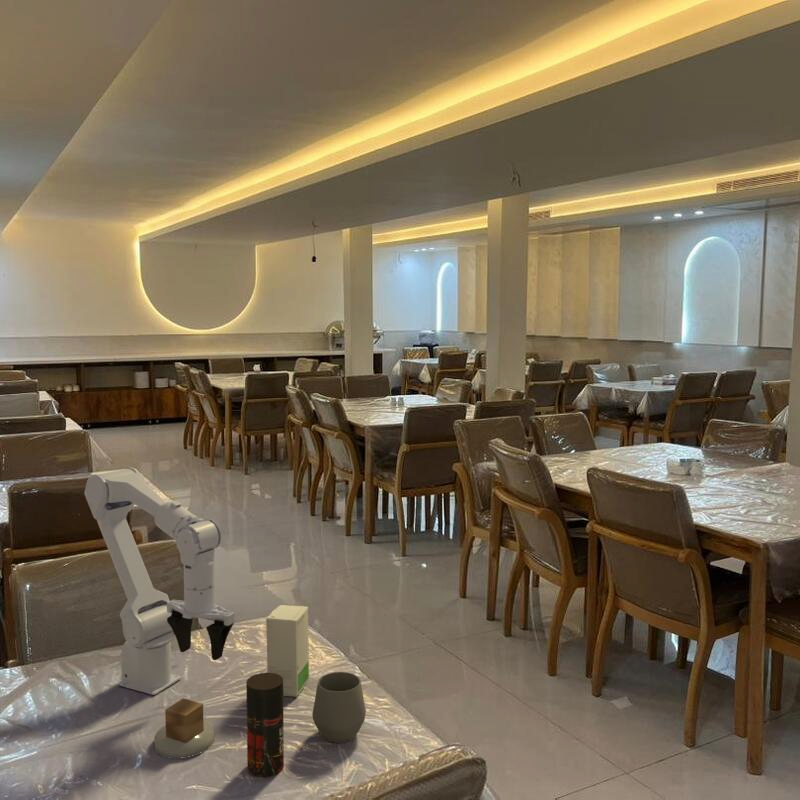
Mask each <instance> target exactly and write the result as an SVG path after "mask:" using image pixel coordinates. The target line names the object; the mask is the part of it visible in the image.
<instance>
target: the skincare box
mask: <svg viewBox="0 0 800 800" xmlns="http://www.w3.org/2000/svg"><path fill="white" fill-rule="evenodd" d="M265 623H266V626H265V627H266V665H267V667H266V670H267V671H266V673H275V674H278V675H280V676H282V678H283V697H291V698H292V697H295V698H298V696H299V694H300V693H301V692H302V690H303V689H304V688H305V686H306V684H307V683H308V682H309V680H310V655H309V654H310V652H309V651H310V650H309V606H304V605H285V604H280V605H278V606H277V607H276V608H275V609H274V610H272V611H271V613H270V614H269V615H268V616H267V617H266V618H265Z"/></svg>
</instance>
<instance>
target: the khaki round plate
mask: <svg viewBox="0 0 800 800" xmlns="http://www.w3.org/2000/svg"><path fill="white" fill-rule="evenodd" d="M203 724H204V731H202V732H201V733H200V734H198V735H197V736H196V737H194V738H193V739H192V740H190V741H189V742H187V743H184V742H181V741H178V740H174V739H171V738H168V737H166V725H164V726H162V727H161V728H159V729H158V730H157V732H156V733H155V735H154V739H153V740H154V750H155V751H157V752H158V753H159V754H158V753H157V752H156V753H157V754H158V755H160V756H161V755H163V756H162V757H164V756H166V757H165V758H167V757H171V758H170V759H174V758H180V759H182V758H181V757H188V756H192V755H196V754H198V753H200V752H203V751H204V752H206V751H208V750H209V749H210V748H211V747H212V745H213V744H214V742H215V729H214V727H213V725H212V724H211V723H209V722H208V721H205V720H203ZM210 746H211V747H210ZM209 747H210V748H209ZM208 748H209V749H208ZM205 750H206V751H205ZM204 752H203V753H204ZM198 755H199V754H198ZM196 756H197V755H196ZM192 757H193V756H192ZM188 758H189V757H188Z"/></svg>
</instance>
